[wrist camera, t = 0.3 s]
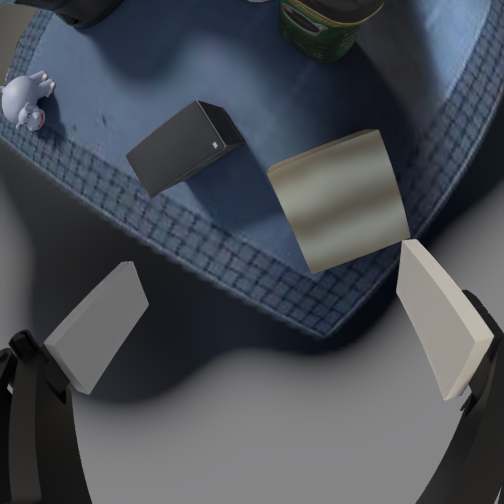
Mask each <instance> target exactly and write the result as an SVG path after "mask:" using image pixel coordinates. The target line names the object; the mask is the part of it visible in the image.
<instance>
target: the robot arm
mask: <svg viewBox="0 0 504 504" xmlns="http://www.w3.org/2000/svg"><path fill="white" fill-rule="evenodd" d="M0 1H1V2H5V3H8V4H18V5H24V6H30V7H36V8H40V9H45V10H50V11H53V12H54V13H55V14H56V15H57V16H58V17H59V18H61V19H62V20H63V21H64V22H65V23H66V24H68V25H70V26H73V27H77V28H86V27H89V26H92V25H94V24H96V23H98V22H100V21H101V20H103V19H104V18H106V17H107V16H108V15H109V14H111V13H112V12H113V11H114V10H115V9H116V8H117V7H118V6H119V5H120V4H121V2H122V1H123V0H0ZM396 292H397V294H398V296H399V298H400V300H401V302H402V304H403V306H404V308H405V310H406V312H407V314H408V316H409V318H410V320H411V322H412V324H413V326H414V328H415V331H416V333H417V335H418V337H419V339H420V342H421V344H422V346H423V348H424V351H425V353H426V355H427V357H428V360H429V362H430V365H431V367H432V370H433V372H434V375H435V377H436V380H437V383H438V385H439V388H440V391H441V393H442V396H443V399H444V401H445V400H449V399H452V398H455V397H458V396H461V395H462V394H463V392H464V391H465V389H466V388H467V386H468V384H469V386H470V388H471V391H472V393H471V394H470V396H469V397H468V399H467V400H466V402H465V403H464V404H463V406H462V407H461V409H460V410H461V411H462V410H463V409H464V408H465V409H464V412H463V414H462V417H461V419H460V422H459V424H458V427H457V429H456V431H455V434H454V436H453V438H452V440H451V442H450V445H449V447H448V449H447V451H446V453H445V455H444V457H443V459H442V461H441V462H440V464H439V466H438V468H437V470H436V472H435V473H434V475H433V477H432V478H431V480H430V482H429V484H428V485H427V487H426V488H425V490H424V492H423V493H422V495H421V496H420V498H419V499H418V501H417V502H416V504H494V502H495V500H496V498H497V496H498V493H499V491H500V488H501V486H502V488H501V492H500V496H499V500H498V504H504V333H503V332H502V330H501V329H500V327H499V326H498V325H497V323H496V322H495V320H494V319H493V318H492V316H491V315H490V314H489V313H488V311H487V310H486V308H485V307H484V306H483V304H482V303H481V302H480V300H479V299H478V298H477V297H476V296H475V295H474V294H472V293H471V292H469V291H468V290H460V288H459V287H458V286H457V285H456V284H455V282H454V281H453V280H452V279H451V278H450V276H449V275H448V274H447V273H446V271H445V270H444V269H443V268H442V267H441V266H440V265H439V264H438V262H437V261H436V260H435V259H434V258H433V257H432V256H431V255H430V253H429V252H428V251H427V250H426V249H425V248H424V247H423V246H422V245H421V244H420V243H419V241H418V240H417V239H413V240H402V247H401V258H400V267H399V276H398V283H397V290H396ZM148 305H149V304H148V301H147V299H146V296H145V294H144V291H143V289H142V286H141V283H140V280H139V278H138V275H137V272H136V270H135V267H134V264H133V261H131V262H122V263H120V264H119V265H118V266H117V267H116V268H115V269H114V270H113V271H112V272H111V273H110V274H109V275H108V276H107V277H106V278H105V279H104V280H103V281H102V282H100V283H99V284H98V285H97V287H96V288H95V289H93V290H92V291H91V293H89V295H87V297H86V298H85V299H84V300H83V301H82V302H81V303H80V304H79V305H78V306H77V307H76V308H75V309H74V310H73V311H72V312H71V313H70V314H69V315H68V316H67V317H66V318H65V319H64V321H63V322H62V323H61V324H60V325H59V326H58V327H57V328H56V329H55V331H53V333H52V334H51V335H50V336H49V337H48V338H47V339H46V341H45V342H44V344H43V346H42V347H41V348H40V347H39V345H38V344H37V342H36V341H35V339H34V337H33V336H32V334H31V332H30V331H29V330H22V331H20V332H18V333H16V334H15V335H14V336H13V337H12V338H11V340H10V341H9V345H10V347H11V348H12V350H13V351H14V353H15V354H16V355H15V354H14V353H13V351H12V350H11V349H10V348H5V349H2V351H0V504H92V502H91V498H90V495H89V492H88V488H87V484H86V481H85V476H84V473H83V468H82V464H81V459H80V455H79V449H78V443H77V437H76V431H75V424H74V417H73V407H72V396H71V390H70V389H69V387H68V386H67V385H68V384H69V383H70V382H71V383H72V384H73V385H74V387H75V388H76V389H77V390H78V391H80V392H83V393H86V394H90V392H91V391H92V389H93V388H94V386H95V384H96V383H97V381H98V380H99V378H100V376H101V375H102V373H103V372H104V370H105V369H106V367H107V366H108V364H109V362H110V361H111V359H112V358H113V356H114V355H115V353H116V352H117V350H118V349H119V347H120V346H121V344H122V343H123V341H124V340H125V339H126V337H127V335H128V334H129V333H130V331H131V330H132V328H133V327H134V325H135V324H136V323H137V321H138V320H139V318H140V317H141V315H142V314H143V313H144V311H145V310H146V308H147V307H148ZM8 384H9V385H10V386H11V387H12V388H13V393H12V394H11V393H10V392H9V391H8V389H7V386H8Z"/></svg>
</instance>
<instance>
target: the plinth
mask: <svg viewBox="0 0 504 504" xmlns="http://www.w3.org/2000/svg"><path fill="white" fill-rule="evenodd" d="M266 174H267V176H268V178H269V180H270V182H271V184H272V186H273V189H274V191H275V193H276V195H277V197H278V199H279V202H280V204H281V206H282V208H283V210H284V212H285V215H286V217H287V219H288V221H289V224H290V226H291V228H292V230H293V232H294V235H295V237H296V239H297V242H298V244H299V246H300V248H301V251H302V253H303V255H304V258H305V260H306V262H307V265H308V267H309V270H310V272H311V274H315V273H318V272H321V271H324V270H326V269H329V268H332V267H335V266H337V265H340V264H343V263H345V262H348V261H351V260H354V259H356V258H359V257H362V256H364V255H367V254H369V253H372V252H375V251H377V250H380V249H382V248H385V247H387V246H390V245H392V244H395V243H398V242H400V241H402V240H405V239H407V238H410V232H409V228H408V223H407V219H406V215H405V211H404V207H403V203H402V199H401V196H400V192H399V189H398V185H397V182H396V178H395V175H394V172H393V169H392V166H391V163H390V160H389V157H388V154H387V151H386V148H385V145H384V143H383V140H382V137H381V135H380V132H379V130H369V129H365V130H362V131H359V132H356V133H353V134H351V135H348V136H345V137H342V138H340V139H337V140H334V141H332V142H329V143H326V144H324V145H321V146H319V147H316V148H313V149H311V150H308V151H306V152H303V153H301V154H299V155H296V156H294V157H291V158H289V159H286V160H284V161H282V162H279V163H277V164H275V165H272V166H270V167H269V169H268V171H267V173H266Z"/></svg>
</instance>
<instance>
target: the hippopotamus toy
mask: <svg viewBox="0 0 504 504" xmlns="http://www.w3.org/2000/svg"><path fill="white" fill-rule="evenodd" d="M45 79H47V74H46V73H45V71H44V70H43V71H40V72H38V73H36V74H34V75H32V76H30V77H28V76H20V77H18V78H16V79H14V80H13V81H11V82H10V83H9V84H8V85H7V86H6V87H5V86H0V92H2V93H3V96H2V108H3V112H4V115H5V116H6V118H7V119H8V120H9V121H10V122H12V123H18V125H17V126H16V129H20V124H22V125H27V127H28V129H29V130H30V131H35V130H38V129H39V128H40V127H41V126H42V125H43V123H44V121H45V113H44V111H43V110H41V109H39V107H38V106H37V105H36V104H37V100H38V99H40V98H42V97H44V96H46V97H49V95H50V94H51V93H52V91H53V88H54V87H55V83H54V82H53V80H52V79H49V80H47V81H45Z"/></svg>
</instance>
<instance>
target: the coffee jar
mask: <svg viewBox="0 0 504 504" xmlns="http://www.w3.org/2000/svg"><path fill="white" fill-rule="evenodd" d="M279 1H280V3H279V5H280V7H279V19H278V24H279V31H280V33H281V35H282V36H283V37H284V38H285V39H286V40H287V41H289V42H290V43H291V44H292V45H293V46H294V47H296V48H297V49H299V50H300V51H301V52H303V53H304V54H305V55H307V56H309V57H310V58H312V59H314V60H315V61H318V62H321V63H332V62H335V61H337V60H338V59H340V58H341V57H342V56H344V55H345V54H346V53H347V52H348V51H349V50H350V48H351V47H352V46H353V44H354V42H355V40H356V37H357V34H358V31H359V28H360V25H361V23H362V22H364V21H366V20H368V19H369V18H371V17H372V16H373V15H374V14H375V13H376V12H377V11H378V10H379V9H380V8H381V7H382V5H383V4H384V1H385V0H279Z"/></svg>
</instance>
